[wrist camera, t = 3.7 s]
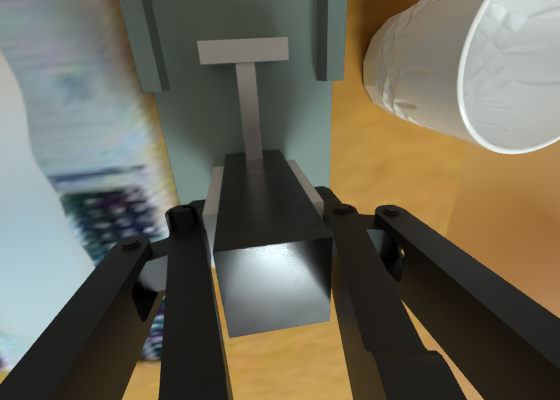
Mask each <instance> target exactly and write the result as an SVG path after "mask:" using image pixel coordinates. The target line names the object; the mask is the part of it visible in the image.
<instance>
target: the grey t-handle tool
mask: <svg viewBox="0 0 560 400" xmlns="http://www.w3.org/2000/svg"><path fill="white" fill-rule="evenodd" d="M197 45H198V51H199V58H200V64H201V65H203V66H206V67H207V66H225V65H236V73H237V82H238V91H239V100H240V109H241V118H242V127H243V136H244V145H245V152H244V153H233V154H226V155H225V162H224V170H223V177H222V185H221V192H220V200H219V207H218V215H217V222H216V230H215V237H214V245H213V252H212V253H213V258H214V263H215V268H216V273H217V278H218V284H219V289H220V294H221V299H222V304H223V309H224V314H225V319H226V324H227V329H228V334H229V338H232V337H238V336H244V335H250V334H256V333H262V332H268V331H274V330H280V329H286V328H292V327H298V326H303V325H309V324H315V323H321V322H327V321H330V303H331V275H332V247H333V236H332V235H331V233H330V231H329V230H328V228H327V226H326V225H325V223H324V221H323V220H322V218H321V217H320V215H319V213H318V212H317V210H316V208H315V207H314V205H313V203H312V202H311V200H310V199H309V197H308V195H307V194H306V192H305V190H304V189H303V187H302V185H301V184H300V182H299V180H298V179H297V177H296V176H295V174H294V172H293V171H292V169H291V167H290V166H289V164H288V162H287V161H286V159H285V157H284V156H283V154H282V153H281V151H280V149H276V150H265V151H262V144H261V132H260V120H259V108H258V96H257V84H256V72H255V64H262V63H280V62H284V61H287V60H289V51H288V37H276V38H253V39H230V40H208V41H197Z"/></svg>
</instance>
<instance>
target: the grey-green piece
mask: <svg viewBox="0 0 560 400" xmlns="http://www.w3.org/2000/svg"><path fill="white" fill-rule="evenodd" d="M119 3H120V7H121V11H122V15H123V19H124V23H125V26H126V30H127V34H128V38H129V42H130V46H131V50H132V54H133V58H134V62H135V66H136V70H137V74H138V77H139V81H140V85H141V89H142V93H152V92H153V93H154V97H155V101H156V105H157V110H158V114H159V118H160V122H161V126H162V131H163V135H164V139H165V143H166V147H167V152H168V156H169V160H170V164H171V168H172V173H173V177H174V181H175V185H176V189H177V194H178V198H179V202H180V205H185V204H189V203H190V202H191V201H194V200H204V199H206V197H207V193H208V189H209V185H210V181H211V177H212V173H213V169H214V167H218V166H224V162H225V155H226V154H233V153H244V152H245V145H244V136H243V127H242V118H241V109H240V100H239V91H238V82H237V73H236V65H225V66H207V67H206V66H203V65H201V64H200V58H199V51H198V45H197V41H208V40H230V39H253V38H276V37H288V51H289V60H287V61H284V62H280V63H262V64H255V72H256V84H257V96H258V108H259V120H260V132H261V144H262V151H265V150H276V149H280V151H281V153H282V154H283V156H284V157H285V159H286V160H292V159H294V160H295V162H296V163H297V164H298V166H299V167H300V169H301V170H302V171H303V173H304V174H305V176H306V177H307V178H308V180H309V181H310V183H311V184H312V186H313V187H318V186H325V187H327V188H329V181H330V143H331V106H332V81H339V80H344V59H345V36H346V12H347V0H119Z"/></svg>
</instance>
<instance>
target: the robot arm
mask: <svg viewBox="0 0 560 400" xmlns="http://www.w3.org/2000/svg"><path fill="white" fill-rule="evenodd" d="M286 161H287V162H288V164H289V166H290V167H291V169H292V171H293V172H294V174H295V176H296V177H297V179H298V180H299V182H300V184H301V185H302V187H303V189H304V190H305V192H306V194H307V195H308V197H309V199H310V200H311V202H312V203H313V205H314V207H315V208H316V210H317V212H318V213H319V215H320V217H321V218H322V220H323V221H324V223H325V225H326V226H327V228H328V230H329V231H330V233H331V235H332V236H333V247H332V275H331V288H332V293H333V298H334V303H335V309H336V314H337V319H338V324H339V329H340V334H341V339H342V344H343V350H344V355H345V360H346V365H347V370H348V375H349V380H350V385H351V390H352V396H353V400H467V399H466V397H465V395H464V393H463V391H462V390H461V388H460V386H459V384H458V382H457V380H456V378H455V377H454V375H453V373H452V371H451V369H450V367H449V366H448V364H447V362H446V361H445V359H444V358H443V356H442V355H441V354H440V353H438V352H437V351H428V350H427V349H426V348H425V346H424V345H423V343H422V341H421V339H420V337H419V335H418V333H417V331H416V329H415V327H414V325H413V323H412V321H411V319H410V317H409V315H408V313H407V311H406V309H405V307H404V305H403V303H402V301H403V302H404V303H405V304H406V306H407V307H408V308H409V309H410V310H411V312H412V313H413V314H414V315H415V316H416V318H417V319H418V320H419V321H420V322H421V324H422V325H423V326H424V327H425V329H426V330H427V331H428V332H429V333H430V335H431V336H432V337H433V338H434V339H435V341H436V342H437V343H438V344H439V345H440V347H441V348H442V349H443V350H444V351H445V353H446V354H447V355H448V356H449V358H450V359H451V360H452V361H453V362H454V364H455V365H456V366H457V367H458V368H459V370H460V371H461V372H462V373H463V374H464V376H465V377H466V378H467V379H468V381H469V382H470V383H471V384H472V385H473V387H474V388H475V389H476V390H477V391H478V393H479V394H480V395H481V396H482V398H483V399H484V400H560V318H558V317H557V316H555V315H554V314H552V313H551V312H550V311H548V310H547V309H545V308H544V307H542V306H541V305H540V304H538V303H537V302H535V301H534V300H533V299H531V298H530V297H528V296H527V295H525V294H524V293H522V292H521V291H520V290H518V289H517V288H516V287H514V286H513V285H511V284H510V283H508V282H507V281H505V280H504V279H503V278H501V277H500V276H499V275H497V274H496V273H494V272H493V271H491V270H490V269H489V268H487V267H486V266H484V265H483V264H481V263H480V262H478V261H477V260H476V259H474V258H473V257H472V256H470V255H469V254H467V253H466V252H464V251H463V250H461V249H460V248H459V247H457V246H456V245H454V244H453V243H452V242H450V241H449V240H447V239H446V238H445V237H443V236H442V235H440V234H439V233H437V232H436V231H435V230H433V229H432V228H430V227H429V226H428V225H426V224H425V223H423V222H422V221H420V220H419V219H418V218H416V217H415V216H413V215H412V214H410V213H409V212H408V211H406V210H405V209H403V208H401V207H398V206H395V205H382V206H379V207H377V208H376V210H375V215H364V214H358V212H357V210H356V208H355V207H353V206H351V205H348V204H342V203H341V201H340V200H339V199H338V198H337V197H336V196H335V194H333V192H332V191H331V190H330V189H329V188H327V187H325V186H318V187H313V186H312V184H311V183H310V181H309V180H308V178H307V177H306V176H305V174H304V173H303V171H302V170H301V169H300V167H299V166H298V164H297V163H296V162H295V160H294V159H292V160H286ZM223 170H224V166H218V167H214V169H213V173H212V177H211V181H210V185H209V189H208V193H207V197H206V199H204V200H194V201H191V202H190V203H189V204H185V205H179V206H175V207H173V208H171V209H169V210H168V211H166V213H165V217H166V221H167V225H168V229H169V237H168V238H166V239H163V240H160V241H157V242H153V243H150V240H149V238H148V237H146V236H131V237H128V238H125V239H123V240H121V241H120V242H118V243H117V244H115V245H114V246H113V247H112V249H111V250H110V251H109V252H108V254H107V255H106V256H105V257H104V258H103V260H102V261H101V262H100V263H99V265H98V266H97V267H96V268H95V269H94V271H93V272H92V273H91V274H90V275H89V277H88V278H87V279H86V280H85V282H84V283H83V284H82V285H81V287H80V288H79V289H78V290H77V292H76V293H75V294H74V295H73V296H72V298H71V299H70V300H69V301H68V302H67V304H66V305H65V306H64V307H63V308H62V310H61V311H60V312H59V313H58V315H57V316H56V317H55V318H54V320H53V321H52V322H51V323H50V324H49V326H48V327H47V328H46V329H45V331H44V332H43V333H42V334H41V335H40V337H39V338H38V339H37V340H36V341H35V343H34V344H33V345H32V346H31V348H30V349H29V350H28V351H27V352H26V354H25V355H24V356H23V357H22V358H21V360H20V361H19V362H18V363H17V365H16V366H15V367H14V368H13V369H12V371H11V372H10V373H9V374H8V376H7V377H6V378H5V379H4V380H3V382H2V383H1V384H0V400H122V397H123V395H124V393H125V390H126V388H127V385H128V383H129V380H130V378H131V375H132V373H133V370H134V368H135V365H136V363H137V360H138V358H139V355H140V353H141V351H142V348H143V346H144V343H145V341H146V338H147V336H148V333H149V331H150V328H151V326H152V323H153V321H154V318H155V316H156V314H157V311H158V309H159V306H160V304H161V301H162V299H163V296H164V293H165V289H166V294H165V309H164V325H163V341H162V357H161V372H160V388H159V398H158V400H233V394H232V388H231V382H230V376H229V371H228V365H227V359H226V353H225V347H224V341H223V335H222V330H221V324H220V318H219V312H218V306H217V300H216V294H215V289H214V283H213V277H212V271H211V267H210V264H211V262H212V267H213V268H215V263H214V258H213V253H212V252H213V245H214V237H215V230H216V222H217V215H218V207H219V200H220V192H221V185H222V177H223ZM402 249H403V251H404V255H405V256H404V255H403V254H402V253H401V251H402ZM400 298H401V299H402V301H401V299H400Z"/></svg>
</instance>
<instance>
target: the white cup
mask: <svg viewBox="0 0 560 400" xmlns="http://www.w3.org/2000/svg"><path fill="white" fill-rule="evenodd" d="M363 81H364V87H365V89H366V91H367V93H368V95H369V97H370V99H371V101H372V103H373V104H375V105H376V106H378V107H379V108H381V109H382V110H384V111H385V112H387V113H389V114H392V115H396V116H398V117H400V118H402V119H404V120H407V121H409V122H412V123H415V124H418V125H420V126H422V127H425V128H427V129H430V130H433V131H436V132H439V133H442V134H445V135H448V136H451V137H454V138H457V139H460V140H463V141H466V142H468V143H472V144H474V145H477V146H480V147H483V148H486V149H489V150H491V151H494V152H499V153H504V154H520V153H526V152H531V151H534V150H537V149H540V148H543V147H545V146H548V145H550V144H552V143H554V142H556V141H558V140H559V139H560V0H420V1H418V2H417V3H416V4H414V5H413V6H412V7H410V8H408V9H407V10H405V11H403V12H401V13H398V14H396V15H394V16H392V17H390V18H388V19H387V21H386V22H385V23H384V24H383V25H382V26H381V28H380V29H379V30H378V31H377V32H376V33H375V35H374V36H373V37H372V38H371V41H370V44H369V47H368V49H367V52H366V55H365V58H364V60H363Z"/></svg>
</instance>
